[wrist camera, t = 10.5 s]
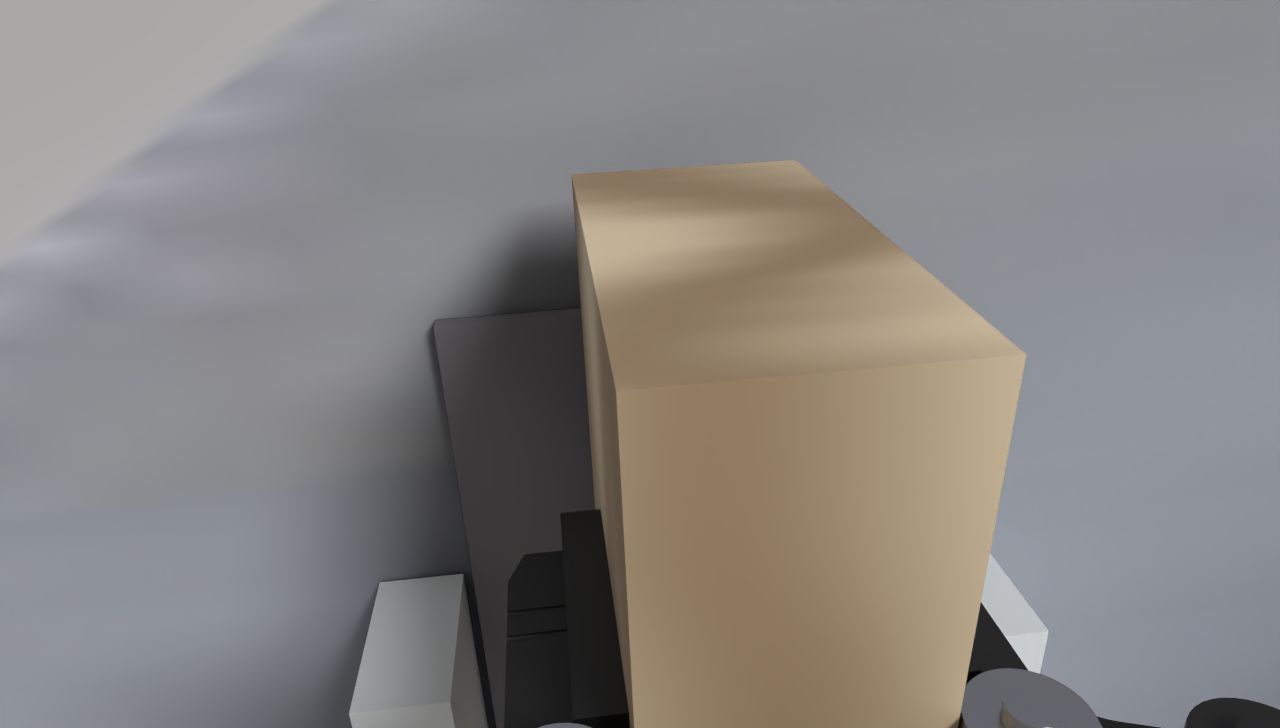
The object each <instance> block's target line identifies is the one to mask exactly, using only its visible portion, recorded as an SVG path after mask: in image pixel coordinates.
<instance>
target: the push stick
mask: <svg viewBox="0 0 1280 728" xmlns="http://www.w3.org/2000/svg"><path fill="white" fill-rule="evenodd" d="M572 188H573V202H574V216H575V230H576V244H577V258H578V273H579V287H580V301H581V315H582V329H583V343H584V357H585V371H586V385H587V399H588V413H589V427H590V442H591V456H592V470H593V484H594V498H595V509H600V510H601V515H602V522H603V530H604V537H605V544H606V551H607V558H608V566H609V573H610V580H611V587H612V594H613V602H614V609H615V616H616V623H617V630H618V638H619V645H620V652H621V659H622V666H623V674H624V681H625V688H626V695H627V702H628V710H629V722H630V728H958V724H959V718H960V713H961V707H962V702H963V697H964V691H965V686H966V680H967V675H968V669H969V664H970V658H971V653H972V648H973V642H974V637H975V631H976V626H977V620H978V615H979V610H980V604H981V599H982V593H983V588H984V582H985V577H986V571H987V566H988V561H989V555H990V550H991V544H992V539H993V533H994V528H995V522H996V517H997V512H998V506H999V501H1000V495H1001V490H1002V484H1003V479H1004V473H1005V468H1006V463H1007V457H1008V452H1009V446H1010V441H1011V435H1012V430H1013V425H1014V419H1015V414H1016V408H1017V403H1018V397H1019V392H1020V386H1021V381H1022V376H1023V370H1024V365H1025V359H1026V354H1025V353H1024V352H1023V351H1022V350H1020V349H1019V348H1018V347H1017V346H1016V345H1014V344H1013V343H1012V342H1011V341H1010V340H1008V339H1007V338H1006V337H1005V336H1004V335H1003V334H1001V333H1000V332H999V331H998V330H997V329H995V328H994V327H993V326H992V325H991V324H989V323H988V322H987V321H986V320H985V319H984V318H982V317H981V316H980V315H979V314H978V313H976V312H975V311H974V310H973V309H972V308H970V307H969V306H968V305H967V304H966V303H965V302H963V301H962V300H961V299H960V298H959V297H957V296H956V295H955V294H954V293H953V292H951V291H950V290H949V289H948V288H947V287H946V286H944V285H943V284H942V283H941V282H940V281H938V280H937V279H936V278H935V277H934V276H932V275H931V274H930V273H929V272H928V271H927V270H925V269H924V268H923V267H922V266H921V265H919V264H918V263H917V262H916V261H915V260H913V259H912V258H911V257H910V256H909V255H908V254H906V253H905V252H904V251H903V250H902V249H900V248H899V247H898V246H897V245H896V244H894V243H893V242H892V241H891V240H890V239H889V238H887V237H886V236H885V235H884V234H883V233H881V232H880V231H879V230H878V229H877V228H875V227H874V226H873V225H872V224H871V223H870V222H868V221H867V220H866V219H865V218H864V217H862V216H861V215H860V214H859V213H858V212H856V211H855V210H854V209H853V208H852V207H851V206H849V205H848V204H847V203H846V202H845V201H843V200H842V199H841V198H840V197H839V196H837V195H836V194H835V193H834V192H833V191H832V190H830V189H829V188H828V187H827V186H826V185H824V184H823V183H822V182H821V181H820V180H818V179H817V178H816V177H815V176H814V175H813V174H811V173H810V172H809V171H808V170H807V169H805V168H804V167H803V166H802V165H801V164H799V163H798V162H797V161H796V160H789V161H774V162H759V163H744V164H728V165H713V166H698V167H683V168H667V169H652V170H637V171H622V172H606V173H591V174H576V175H572Z"/></svg>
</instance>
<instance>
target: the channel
mask: <svg viewBox="0 0 1280 728" xmlns="http://www.w3.org/2000/svg"><path fill="white" fill-rule="evenodd" d="M433 329H434V335H435V341H436V348H437V354H438V360H439V367H440V373H441V380H442V386H443V392H444V399H445V405H446V411H447V418H448V424H449V430H450V437H451V443H452V449H453V456H454V462H455V468H456V475H457V481H458V487H459V494H460V500H461V506H462V513H463V519H464V525H465V532H466V538H467V545H468V551H469V557H470V564H471V570H472V576H473V583H474V589H475V595H476V602H477V608H478V614H479V621H480V627H481V633H482V640H483V646H484V652H485V659H486V665H487V671H488V678H489V684H490V690H491V697H492V703H493V710H494V716H495V722H496V728H504V710H505V673H506V642H507V617H508V615H507V599H508V581H509V579H510V577H511V576H512V574H513V572H514V571H515V569H516V567H517V566H518V564H519V563H520V561H521V559H522V558H523V556H524V554H533V553H543V552H552V551H561V550H562V535H561V518H560V513H566V512H576V511H586V510H595V498H594V484H593V470H592V456H591V442H590V427H589V413H588V399H587V385H586V371H585V357H584V343H583V329H582V315H581V308H575V309H563V310H550V311H538V312H526V313H513V314H501V315H489V316H476V317H464V318H452V319H439V320H435V322H434V326H433ZM981 603H982V604H983V606H984V607H985V608H986V610H987V611H988V613H989V614H990V616H991V617H992V619H993V620H994V621H995V623H996V624H997V626H998V627H999V629H1000V630H1001V632H1002V633H1003V634H1004V636H1005V637H1006V639H1007V640H1008V642H1009V643H1010V645H1011V646H1012V647H1013V649H1014V650H1015V652H1016V653H1017V655H1018V656H1019V658H1020V659H1021V660H1022V662H1023V663H1024V665H1025V666H1026V668H1027V669H1028V671H1032V672H1035V673H1039V674H1040V670H1041V665H1042V661H1043V656H1044V651H1045V647H1046V642H1047V637H1048V633H1049V631H1048V629H1047V628H1046V627H1045V625H1044V624H1043V623H1042V621H1041V620H1040V619H1039V618H1038V616H1037V615H1036V614H1035V612H1034V611H1033V610H1032V608H1031V607H1030V606H1029V604H1028V603H1027V602H1026V600H1025V599H1024V598H1023V596H1022V595H1021V594H1020V592H1019V591H1018V590H1017V588H1016V587H1015V586H1014V585H1013V583H1012V582H1011V581H1010V579H1009V578H1008V577H1007V575H1006V574H1005V573H1004V571H1003V570H1002V569H1001V567H1000V566H999V565H998V563H997V562H996V561H995V559H994V558H993V557H992V555H991V554H990V555H989V561H988V566H987V571H986V577H985V582H984V588H983V593H982V599H981ZM349 716H350V720H351V724H352V728H489V727H488V721H487V715H486V709H485V703H484V697H483V690H482V684H481V678H480V672H479V666H478V660H477V654H476V648H475V641H474V635H473V629H472V623H471V617H470V611H469V605H468V598H467V592H466V586H465V580H464V574H455V575H445V576H436V577H427V578H417V579H408V580H398V581H389V582H380V583H379V587H378V591H377V595H376V600H375V604H374V608H373V613H372V617H371V621H370V625H369V630H368V634H367V638H366V643H365V647H364V651H363V655H362V660H361V664H360V668H359V673H358V677H357V681H356V685H355V690H354V694H353V698H352V703H351V707H350V711H349Z"/></svg>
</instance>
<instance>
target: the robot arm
mask: <svg viewBox="0 0 1280 728" xmlns="http://www.w3.org/2000/svg"><path fill="white" fill-rule="evenodd" d="M560 518H561V535H562V550H561V551H552V552H543V553H533V554H524V556H523V558H522V559H521V561H520V563H519V564H518V566H517V567H516V569H515V571H514V572H513V574H512V576H511V577H510V579H509V581H508V599H507V615H508V617H507V642H506V673H505V710H504V728H630V722H629V710H628V702H627V695H626V688H625V681H624V674H623V666H622V659H621V652H620V645H619V638H618V630H617V623H616V616H615V609H614V602H613V594H612V587H611V580H610V573H609V566H608V558H607V551H606V544H605V537H604V530H603V522H602V515H601V510H600V509H595V510H586V511H576V512H566V513H560ZM958 728H1159V727H1152V726H1145V725H1138V724H1131V723H1124V722H1118V721H1113V720H1108V719H1104V718H1101V717H1097V716H1096V715H1095V714H1094V712H1093V710H1092V709H1091V708H1090V707H1089V705H1088V704H1087V703H1086V702H1085V701H1084V700H1083V699H1082V698H1081V697H1080V696H1079V695H1077V694H1076V693H1075V692H1074V691H1072V690H1071V689H1069V688H1068V687H1066V686H1065V685H1063V684H1061V683H1060V682H1058V681H1056V680H1054V679H1052V678H1049V677H1047V676H1045V675H1042V674H1039V673H1035V672H1032V671H1028V669H1027V668H1026V666H1025V665H1024V663H1023V662H1022V660H1021V659H1020V658H1019V656H1018V655H1017V653H1016V652H1015V650H1014V649H1013V647H1012V646H1011V645H1010V643H1009V642H1008V640H1007V639H1006V637H1005V636H1004V634H1003V633H1002V632H1001V630H1000V629H999V627H998V626H997V624H996V623H995V621H994V620H993V619H992V617H991V616H990V614H989V613H988V611H987V610H986V608H985V607H984V606H983V604H982V603H981V604H980V610H979V615H978V620H977V626H976V631H975V637H974V642H973V648H972V653H971V658H970V664H969V669H968V675H967V680H966V686H965V691H964V697H963V702H962V707H961V713H960V718H959V724H958ZM1184 728H1280V710H1278V709H1276V708H1273V707H1271V706H1268V705H1265V704H1262V703H1258V702H1254V701H1250V700H1245V699H1238V698H1217V699H1211V700H1208V701H1204V702H1202V703H1200V704H1199V705H1197V706H1195V707H1194V708H1193V709H1192V710H1191V712H1190V713H1189V715H1188V717H1187V720H1186V723H1185V726H1184Z"/></svg>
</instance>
